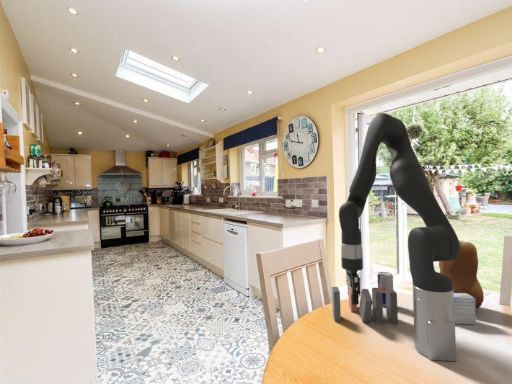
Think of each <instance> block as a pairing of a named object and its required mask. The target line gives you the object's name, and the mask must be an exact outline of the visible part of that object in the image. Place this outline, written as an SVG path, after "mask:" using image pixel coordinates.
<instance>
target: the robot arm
mask: <svg viewBox="0 0 512 384" xmlns="http://www.w3.org/2000/svg"><path fill="white" fill-rule="evenodd" d="M364 139H365V140H364V143H363V147H362V151H361V155H360V159H359V163H358V166H357V169H356V172H355V175H354V177H353V179H352V182H351V185H350V186H349V192H348V193H349V195H348V197H347V200H346V201H345V202H344V203H343V204H341V205H340V207H339V210H338V219H339V225H340V229H341V246H340V248H341V249H340V250H341V252H340V253H341V256H340V259H341V269H343V270H345V276H346V277H345V282H346V286H347V287H348V280H349V287H350V288H351V293H352V304H353V305H357V306H358V305H360V300H359V295H361V277H360V275H359V274H358V271H363V269H364V254H363V252H364V251H363V246H362V239H363V238H362V231H361V229H360V223H359V220H360V218H361V216H362V214H363V212H364V209H365V206H366V203H367V200H368V197H369V196H370V193H371V190H372V189H373V186H374V183H375V181H376V177H377V155H378V150H379V148H380V147H379V146H380V144H381V143H382V144H384V145H385V146H386V148H387V150H388V152H389V154H390V156H391V163H390V168H389V177H390V181H391V183H392V186H393V188H394V189H393V190H394V191H395V193H396V194H397V196H398V197H399V198H400V200H402V201H403V202H404V203H405V204H406V205H407V206H409V207H410V208H411V210H413V211H414V212H416V213H417V214H418V216H420V218H421V219H422V221H423V223H424V225H425V226H420V227H419V226H418V227H414V228H412V229H411V230H410V231H409V233H408V236H407V250H408V261H409V271H410V275H411V278H412V279H411V280H412V300H413V301H412V302H413V304H412V307H413V333H414V334H413V336H414V348H415V350H416V351H417V352H418V353H419V354H421V355H424V356H425V357H427V358H428V359H429V360H430V361H431V360H432V361H448V362H457V343H456V341H457V340H456V338H457V337H456V324H454V298H453V281H452V279H451V278H450V277H449V276H447V275H444V274H442V273H440V272H437V271H436V270H435V266H434V264H435V263H436V262H439V261H452V260H455V259H457V258H458V256H459V254H460V243H459V240H460V239H459V238H458V235H457V233H456V231H455V229H454V228H453V225H452V224H451V222H450V220H448V217H447V216H446V214H445V213H444V211H443V210H442V208H441V206H440V204H439V202H438V200H437V198H436V196H435V194H434V192H433V190H432V188H431V185H430V183H429V181H428V177H427V176H426V174H425V173H426V172H424V169H423V168H422V166H421V163H420V162H419V159H418V157H417V155H416V153H415V151H414V149H413V146H412V144H411V140H410V135H409V133H408V130H407V126H406V125H405V123H404V122H403V121H402V120H401V119H399V118H396V117H395V116H393V115H391V114H388V113H386V112H381V113H378V114H376V115H375V116H374V117H373V118H372V119H371V121H370V122H369V125H368V128H367V130H366V135H365V138H364ZM434 262H435V263H434ZM354 288H356V290H354ZM347 296H348V297H349V292H348V291H347Z"/></svg>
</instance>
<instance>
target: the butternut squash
mask: <svg viewBox="0 0 512 384" xmlns="http://www.w3.org/2000/svg"><path fill="white" fill-rule="evenodd" d="M458 240H459V243H460V254H459V256H458V258H457V259H455V260H452V261H438V268H439V273H442V274H444V275H447V276H449V277H450V278H451V279H452V281H453V293H467V294H469V295H470V296H472V297H474V298H475V309H476V310H478V309H479V308H481V306H482V305H483V302H484V300H485V299H484V298H485V297H484V294H485V293H484V291H483V287H482V285H481V283H480V281H479V279H478V277H477V275H478V270H479V257H478V251H477V247H476V245H475V244H473V243H472V242H470V241H464V240H460V239H458Z"/></svg>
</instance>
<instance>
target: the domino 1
mask: <svg viewBox="0 0 512 384" xmlns="http://www.w3.org/2000/svg"><path fill="white" fill-rule="evenodd" d="M331 301H332V302H331V303H332V305H331V307H332V316H333V321H334V322H337V323H339V322H342V318H341V315H342V314H341V290H340V289H339V286H331Z"/></svg>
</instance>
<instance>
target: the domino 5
mask: <svg viewBox="0 0 512 384" xmlns="http://www.w3.org/2000/svg"><path fill="white" fill-rule="evenodd" d="M385 310H386V313H385V314H386V315H385V316H386V319H387V320H388V321H389V323H390V324H391V325H398V324H399V319H398V318H399V315H398V314H399V313H398V294H397V292H396V291H395V290H394V288H393V289H392V288H386V309H385Z"/></svg>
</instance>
